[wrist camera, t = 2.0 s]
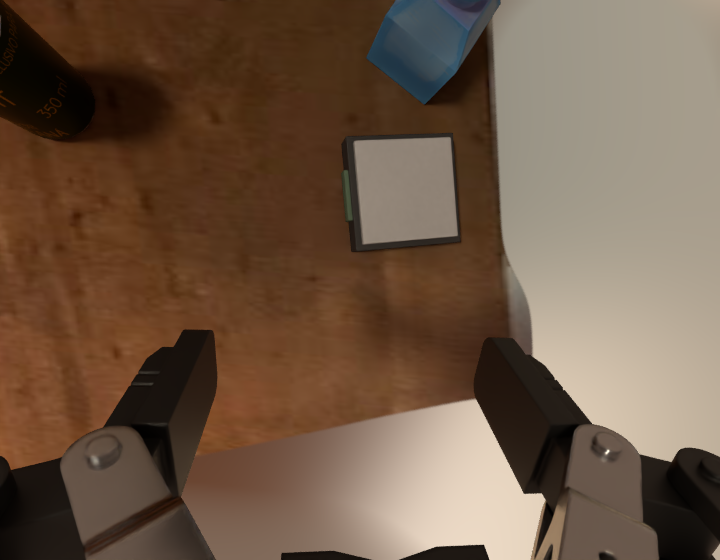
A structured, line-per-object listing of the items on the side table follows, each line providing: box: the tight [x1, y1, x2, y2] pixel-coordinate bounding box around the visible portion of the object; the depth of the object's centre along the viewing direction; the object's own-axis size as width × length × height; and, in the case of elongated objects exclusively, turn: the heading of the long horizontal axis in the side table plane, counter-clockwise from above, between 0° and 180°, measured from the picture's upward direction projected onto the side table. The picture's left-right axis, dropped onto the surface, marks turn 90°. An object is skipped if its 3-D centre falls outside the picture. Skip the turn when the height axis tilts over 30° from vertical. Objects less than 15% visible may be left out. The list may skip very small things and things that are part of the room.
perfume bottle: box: [366, 0, 500, 105], centre depth 29 cm, size 6×6×12 cm
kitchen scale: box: [341, 133, 460, 252], centre depth 33 cm, size 9×9×3 cm
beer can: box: [0, 0, 95, 140], centre depth 23 cm, size 5×5×12 cm
